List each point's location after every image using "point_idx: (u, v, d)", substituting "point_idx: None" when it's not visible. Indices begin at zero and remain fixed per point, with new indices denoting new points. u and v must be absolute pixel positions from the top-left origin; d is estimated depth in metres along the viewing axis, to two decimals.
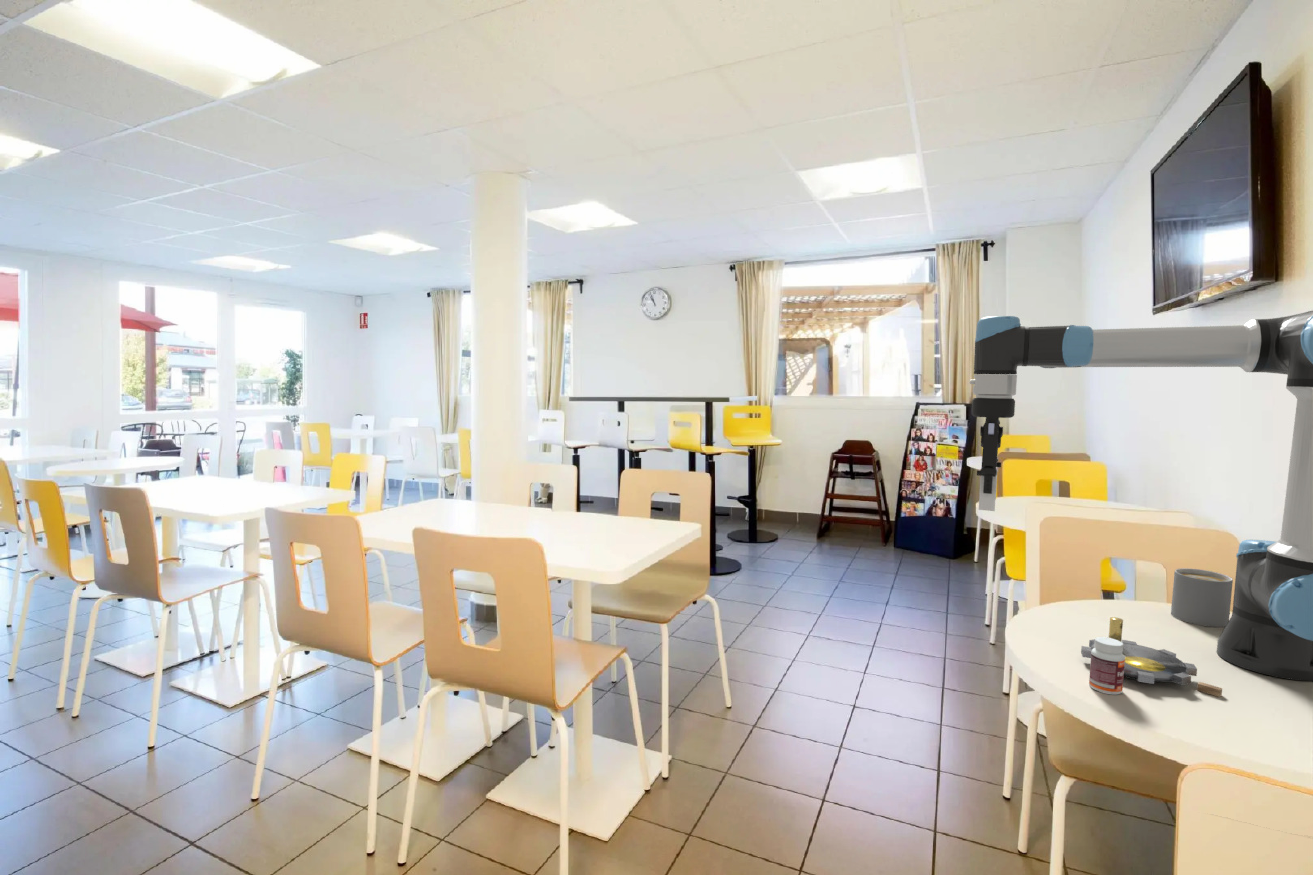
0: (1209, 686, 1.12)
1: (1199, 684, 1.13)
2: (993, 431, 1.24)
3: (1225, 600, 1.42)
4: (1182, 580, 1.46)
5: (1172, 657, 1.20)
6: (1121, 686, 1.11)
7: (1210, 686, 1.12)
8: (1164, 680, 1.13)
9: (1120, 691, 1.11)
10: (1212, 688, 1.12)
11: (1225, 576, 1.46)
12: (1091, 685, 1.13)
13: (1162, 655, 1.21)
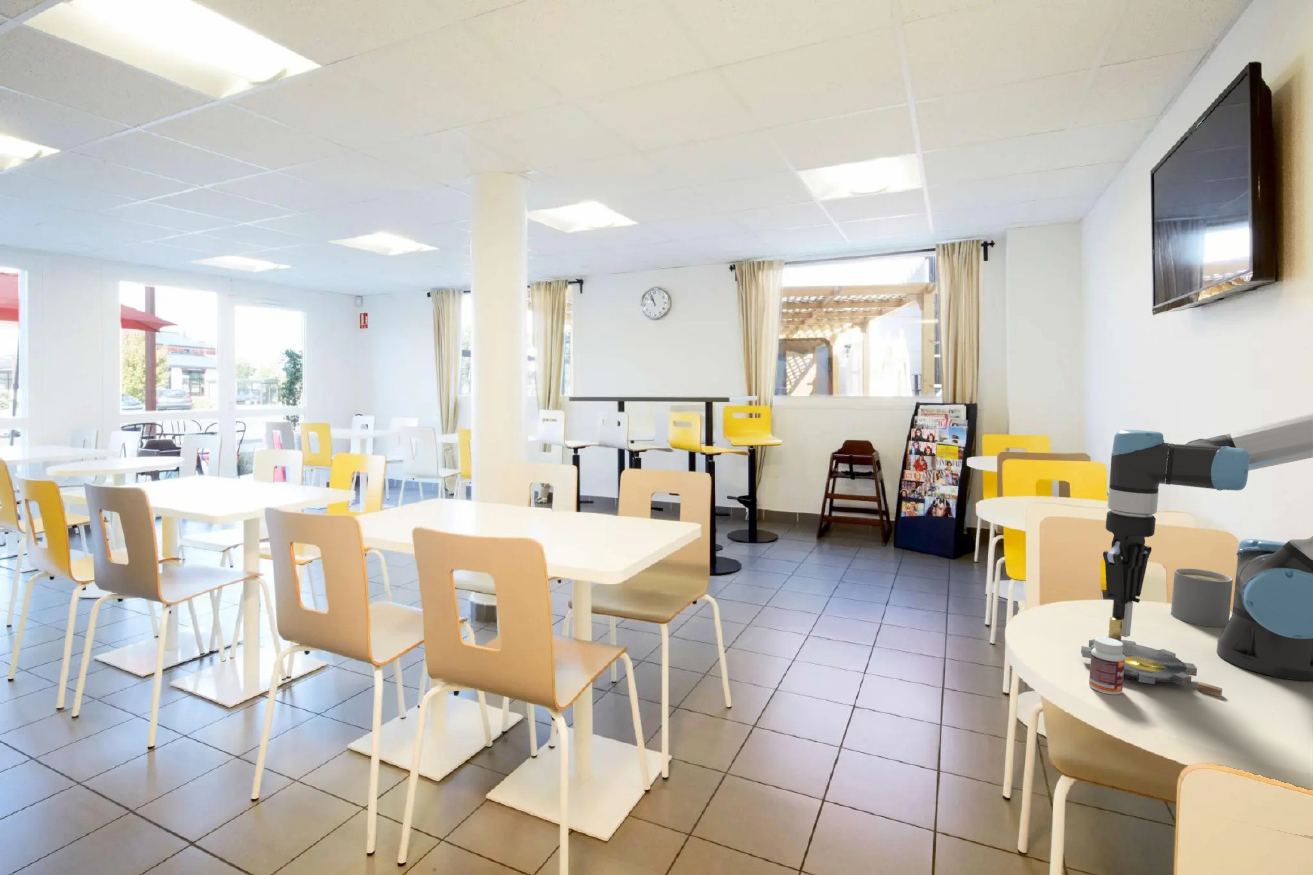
0: (1209, 686, 1.12)
1: (1199, 684, 1.13)
2: (1113, 561, 1.23)
3: (1225, 600, 1.42)
4: (1182, 580, 1.46)
5: (1172, 657, 1.20)
6: (1121, 686, 1.11)
7: (1210, 686, 1.12)
8: (1164, 680, 1.13)
9: (1120, 691, 1.11)
10: (1212, 688, 1.12)
11: (1225, 576, 1.46)
12: (1091, 685, 1.13)
13: (1162, 655, 1.21)
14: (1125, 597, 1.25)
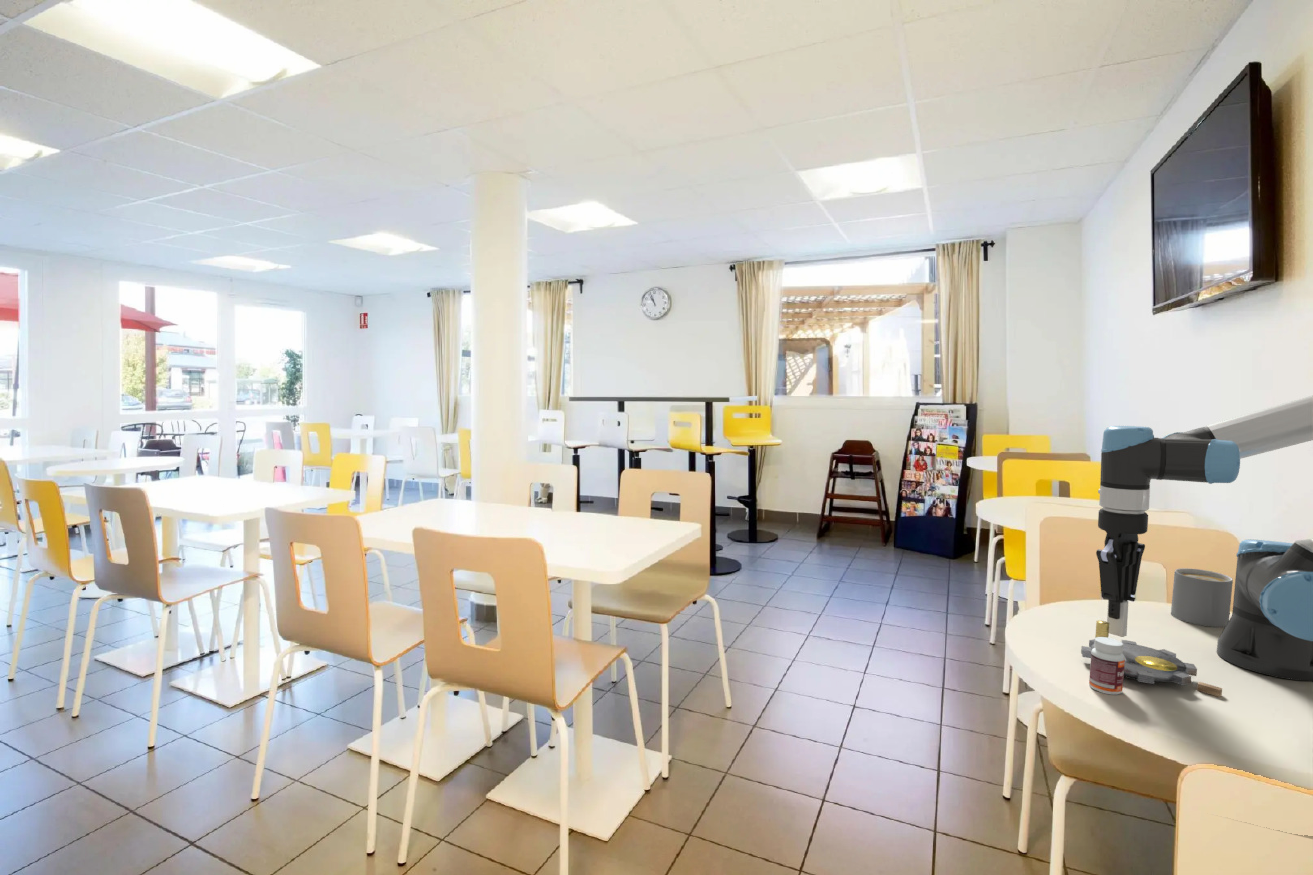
0: (1209, 686, 1.12)
1: (1199, 684, 1.13)
2: (1107, 560, 1.20)
3: (1225, 600, 1.42)
4: (1182, 580, 1.46)
5: (1144, 647, 1.25)
6: (1121, 686, 1.11)
7: (1210, 686, 1.12)
8: None
9: (1120, 691, 1.11)
10: (1212, 688, 1.12)
11: (1225, 576, 1.46)
12: (1091, 685, 1.13)
13: (1138, 648, 1.24)
14: (1120, 596, 1.22)
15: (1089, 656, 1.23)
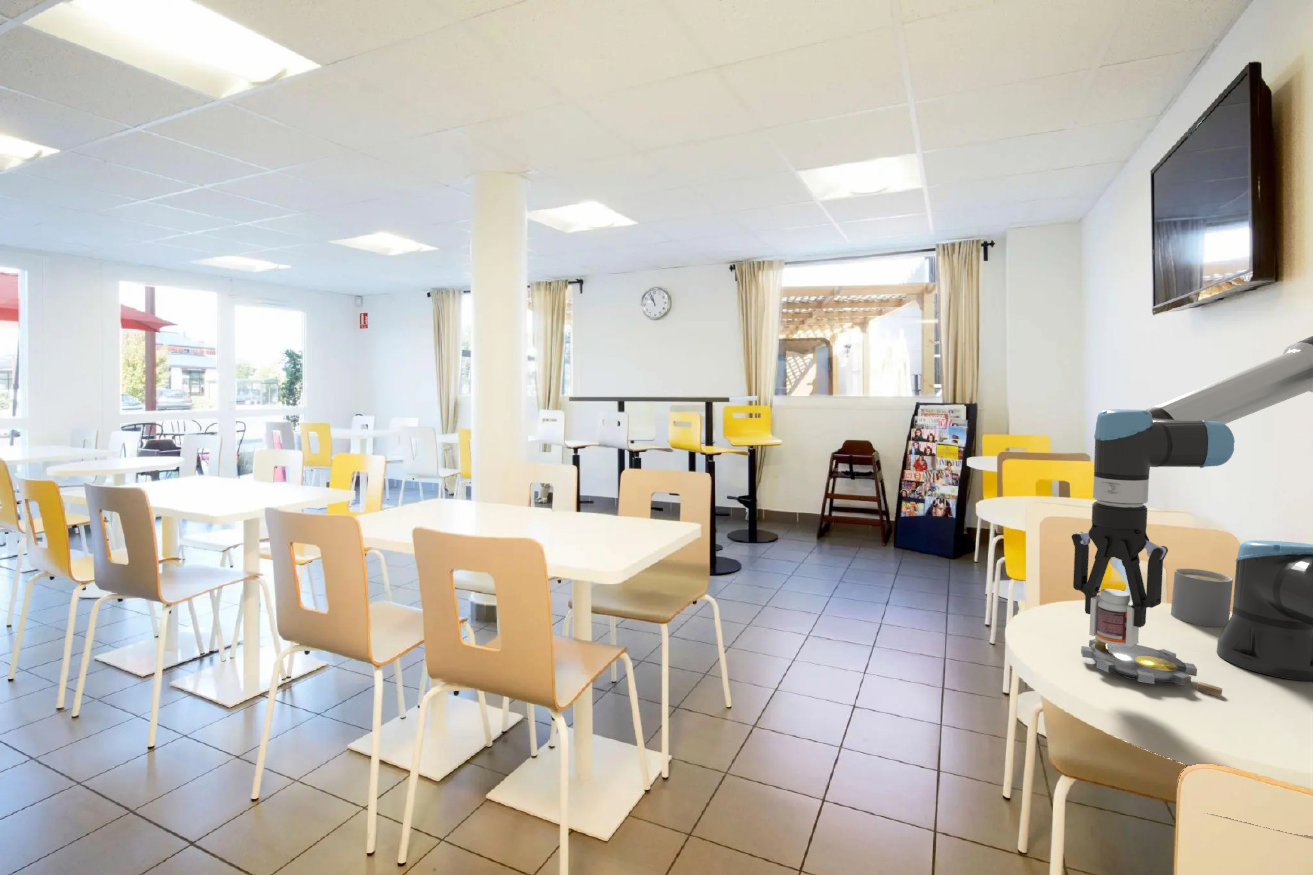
0: (1209, 686, 1.12)
1: (1199, 684, 1.13)
2: (1162, 557, 1.06)
3: (1225, 600, 1.42)
4: (1182, 580, 1.46)
5: (1144, 647, 1.25)
6: None
7: (1210, 686, 1.12)
8: None
9: None
10: (1212, 688, 1.12)
11: (1225, 576, 1.46)
12: (1099, 637, 1.13)
13: (1138, 648, 1.24)
14: None
15: (1089, 656, 1.23)
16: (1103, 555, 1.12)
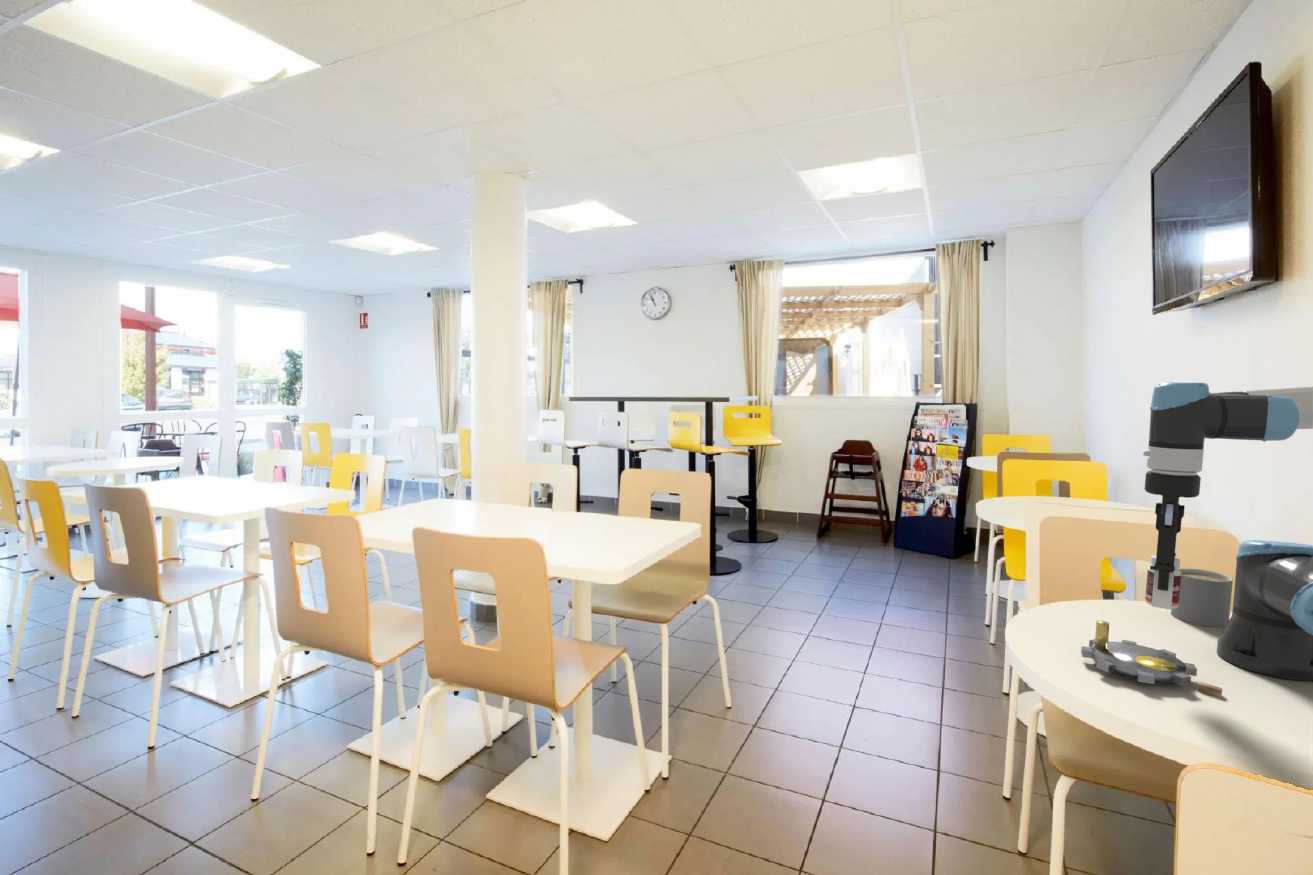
0: (1209, 686, 1.12)
1: (1199, 684, 1.13)
2: (1171, 523, 1.10)
3: (1225, 600, 1.42)
4: (1182, 580, 1.46)
5: (1144, 647, 1.25)
6: None
7: (1210, 686, 1.12)
8: None
9: None
10: (1212, 688, 1.12)
11: (1225, 576, 1.46)
12: None
13: (1138, 648, 1.24)
14: None
15: (1089, 656, 1.23)
16: None
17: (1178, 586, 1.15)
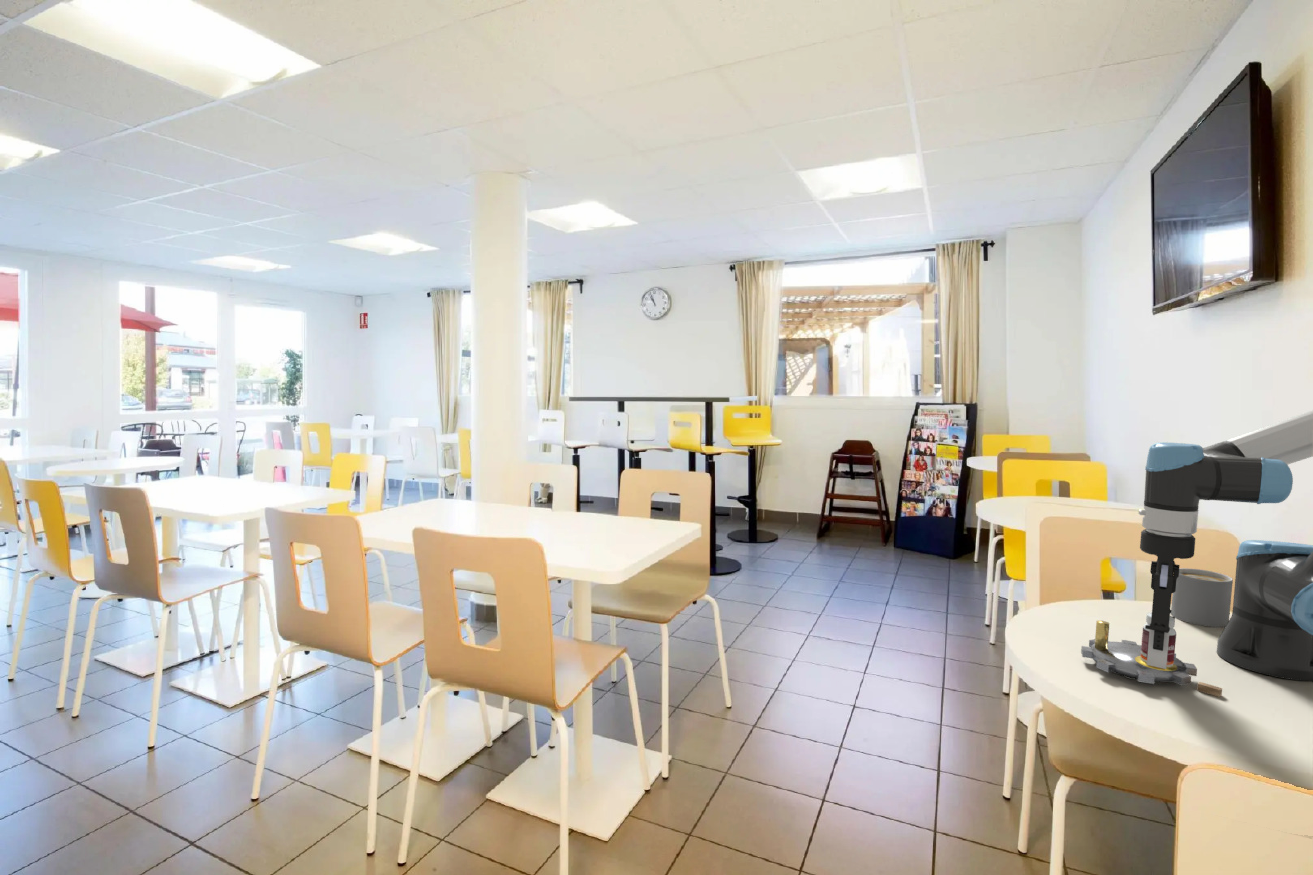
0: (1209, 686, 1.12)
1: (1199, 684, 1.13)
2: (1166, 585, 1.11)
3: (1225, 600, 1.42)
4: (1182, 580, 1.46)
5: None
6: None
7: (1210, 686, 1.12)
8: None
9: None
10: (1212, 688, 1.12)
11: (1225, 576, 1.46)
12: None
13: (1138, 648, 1.24)
14: None
15: (1089, 656, 1.23)
16: None
17: (1173, 645, 1.15)
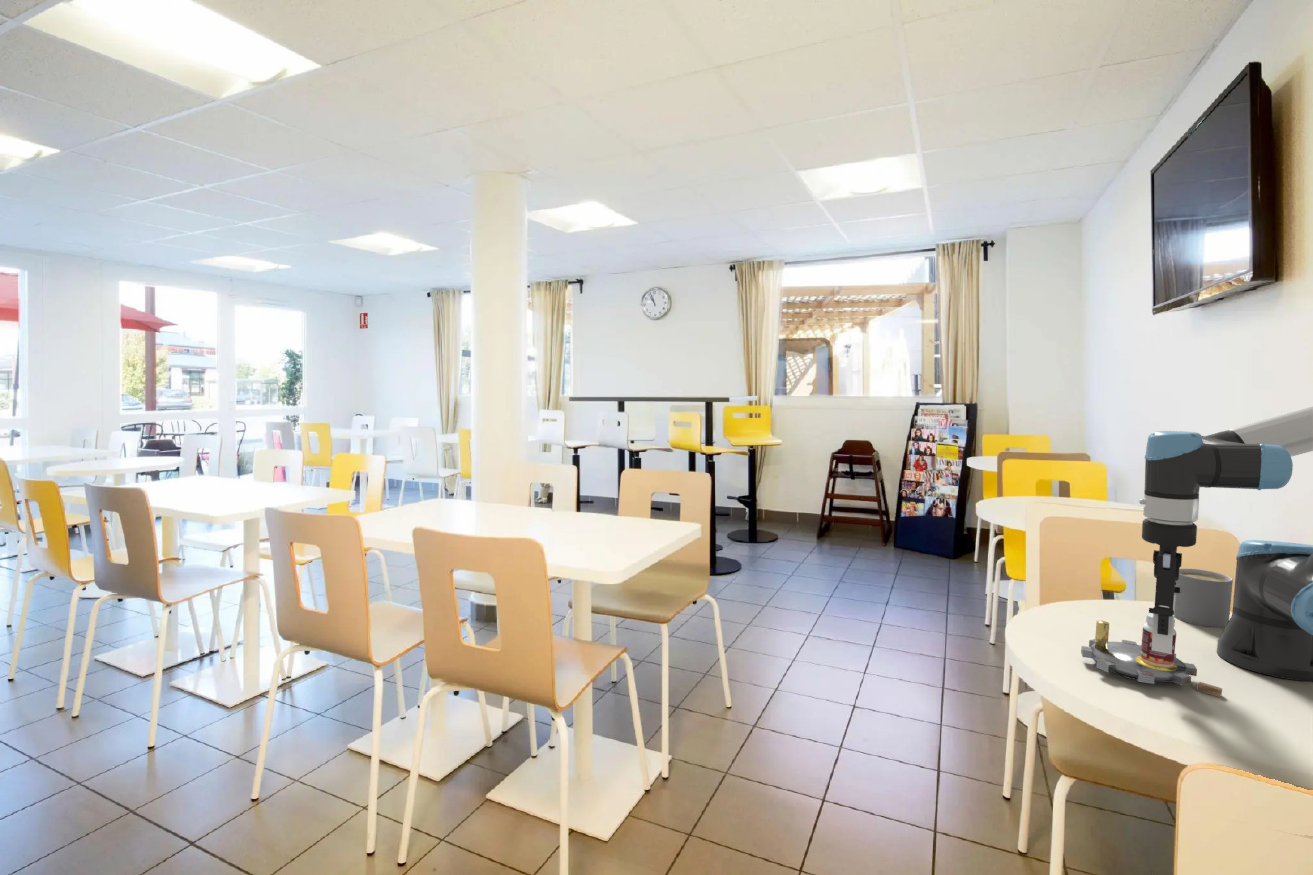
0: (1209, 686, 1.12)
1: (1199, 684, 1.13)
2: (1169, 565, 1.10)
3: (1225, 600, 1.42)
4: (1182, 580, 1.46)
5: None
6: (1156, 659, 1.16)
7: (1210, 686, 1.12)
8: None
9: (1154, 663, 1.16)
10: (1212, 688, 1.12)
11: (1225, 576, 1.46)
12: None
13: (1138, 648, 1.24)
14: None
15: (1089, 656, 1.23)
16: None
17: (1173, 645, 1.15)
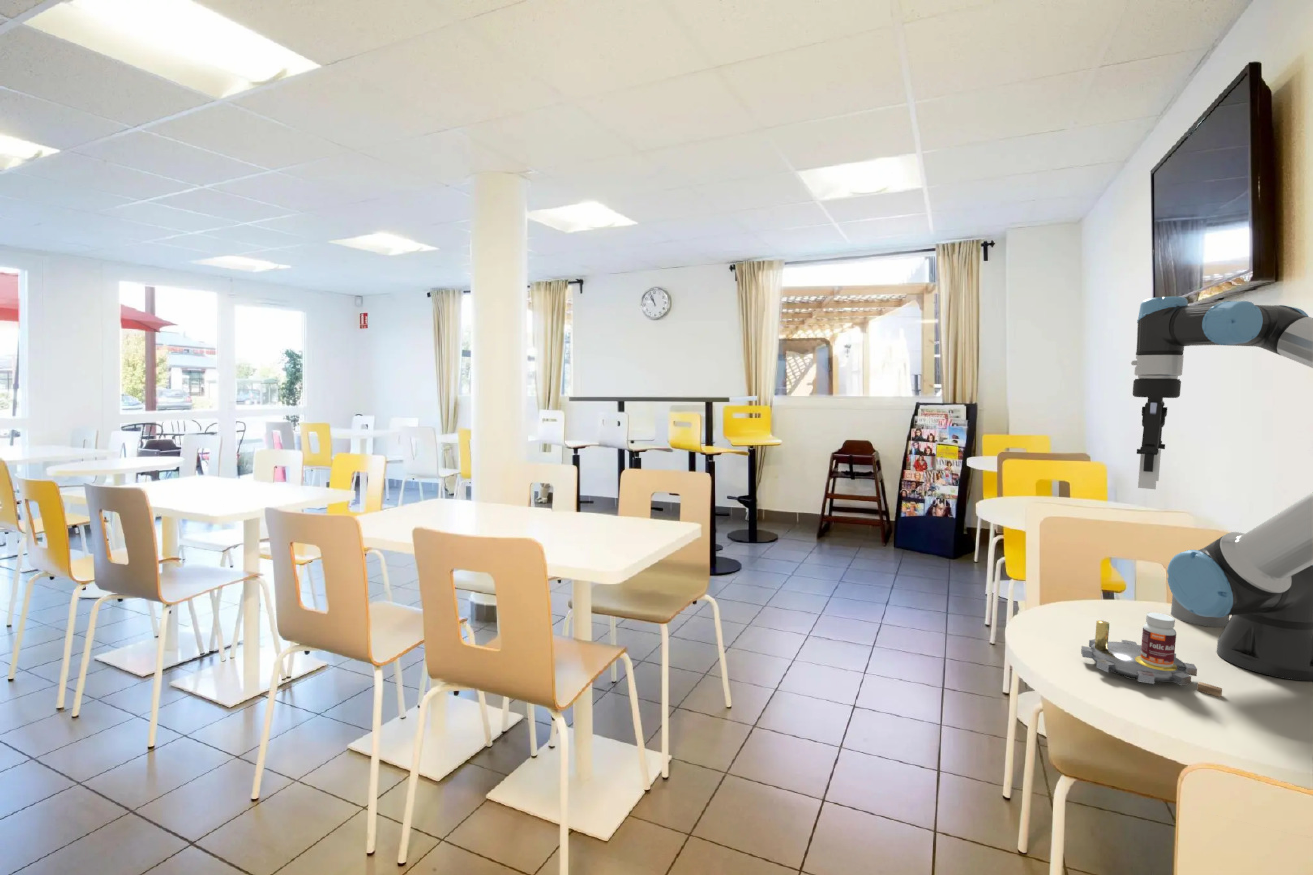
0: (1209, 686, 1.12)
1: (1199, 684, 1.13)
2: (1155, 410, 1.26)
3: None
4: None
5: None
6: (1156, 659, 1.16)
7: (1210, 686, 1.12)
8: None
9: (1154, 663, 1.16)
10: (1212, 688, 1.12)
11: None
12: None
13: (1138, 648, 1.24)
14: None
15: (1089, 656, 1.23)
16: None
17: (1173, 645, 1.15)
